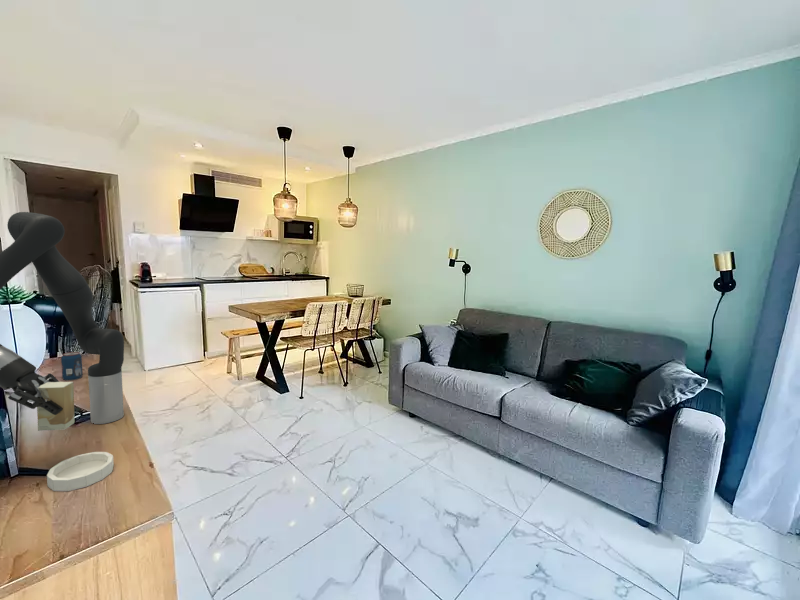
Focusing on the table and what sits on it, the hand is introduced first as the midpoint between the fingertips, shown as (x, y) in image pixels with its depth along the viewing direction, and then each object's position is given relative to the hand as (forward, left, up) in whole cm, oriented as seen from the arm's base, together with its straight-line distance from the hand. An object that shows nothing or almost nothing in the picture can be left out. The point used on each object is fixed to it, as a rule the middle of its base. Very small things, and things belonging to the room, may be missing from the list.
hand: (65, 407), depth 96 cm
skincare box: (-1, -1, -5) cm, 6 cm away
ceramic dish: (+7, 0, -18) cm, 19 cm away
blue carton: (-83, +32, -18) cm, 91 cm away
